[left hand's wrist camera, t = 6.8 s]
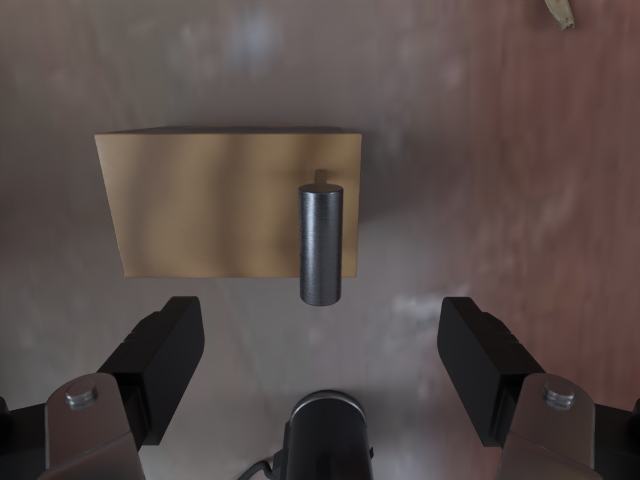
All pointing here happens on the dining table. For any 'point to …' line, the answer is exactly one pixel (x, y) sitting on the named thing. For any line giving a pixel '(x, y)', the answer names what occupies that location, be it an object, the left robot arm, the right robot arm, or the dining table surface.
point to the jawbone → (561, 13)
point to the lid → (236, 205)
